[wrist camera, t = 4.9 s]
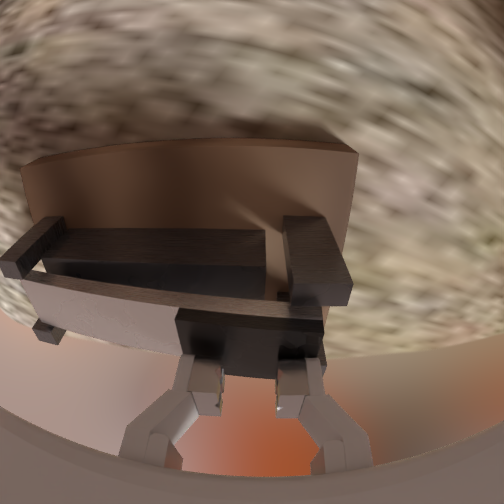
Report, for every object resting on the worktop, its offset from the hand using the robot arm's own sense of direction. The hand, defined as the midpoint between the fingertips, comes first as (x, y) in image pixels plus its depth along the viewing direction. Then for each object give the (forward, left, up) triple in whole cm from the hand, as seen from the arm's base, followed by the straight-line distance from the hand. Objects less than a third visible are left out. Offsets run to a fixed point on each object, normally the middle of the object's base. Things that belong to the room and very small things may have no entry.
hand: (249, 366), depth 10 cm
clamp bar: (-4, -3, -2) cm, 5 cm away
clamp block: (-4, -3, -6) cm, 7 cm away
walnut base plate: (-4, -3, -8) cm, 9 cm away
